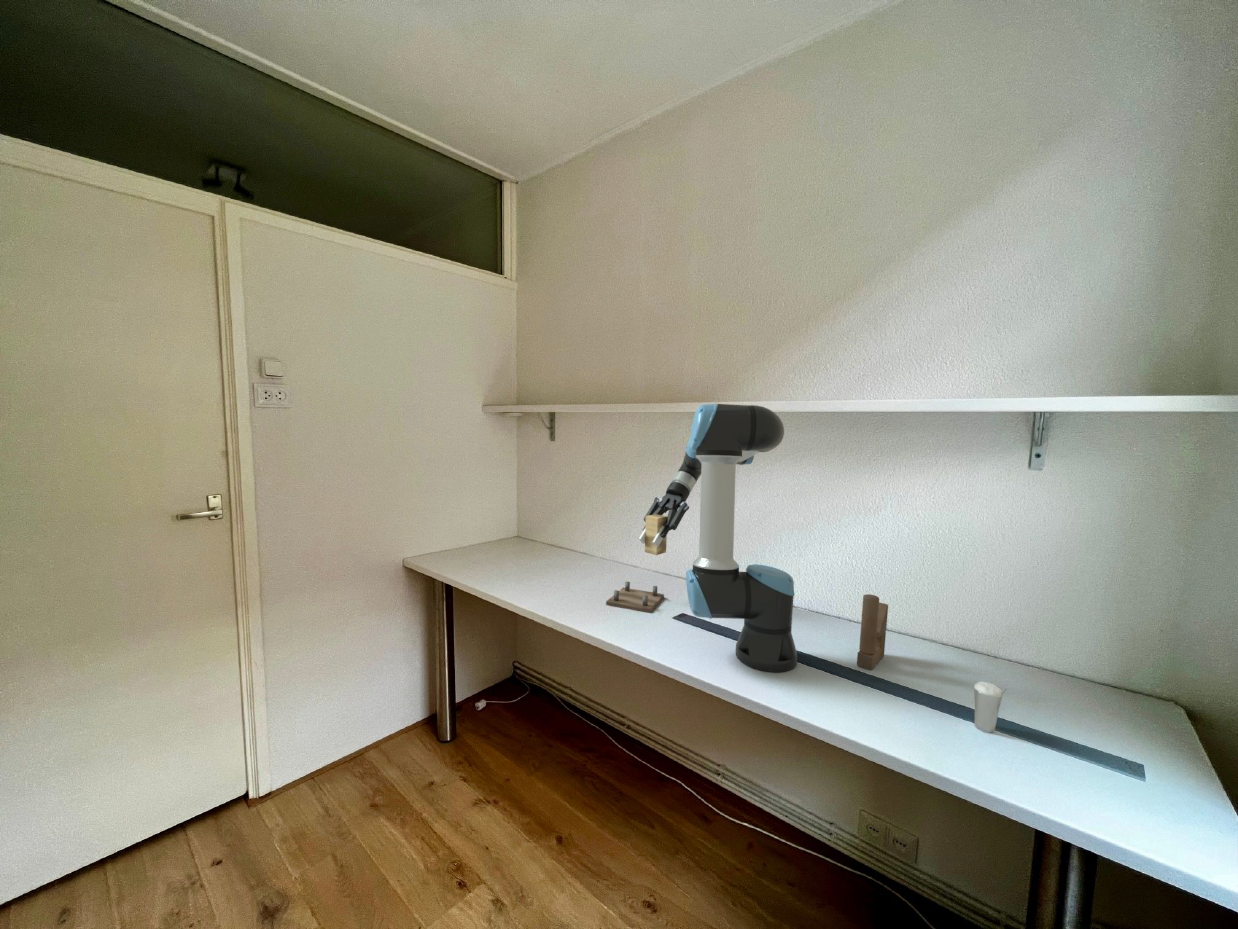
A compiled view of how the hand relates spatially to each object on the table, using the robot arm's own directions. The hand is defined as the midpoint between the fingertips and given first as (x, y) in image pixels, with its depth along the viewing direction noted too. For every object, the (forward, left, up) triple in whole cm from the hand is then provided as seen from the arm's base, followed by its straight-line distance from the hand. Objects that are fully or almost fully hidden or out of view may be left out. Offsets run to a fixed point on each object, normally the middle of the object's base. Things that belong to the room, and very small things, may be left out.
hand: (648, 542), depth 158 cm
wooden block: (-11, -65, -21) cm, 69 cm away
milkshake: (-33, -84, -21) cm, 92 cm away
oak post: (+4, -1, -4) cm, 5 cm away
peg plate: (+2, +4, -21) cm, 21 cm away
